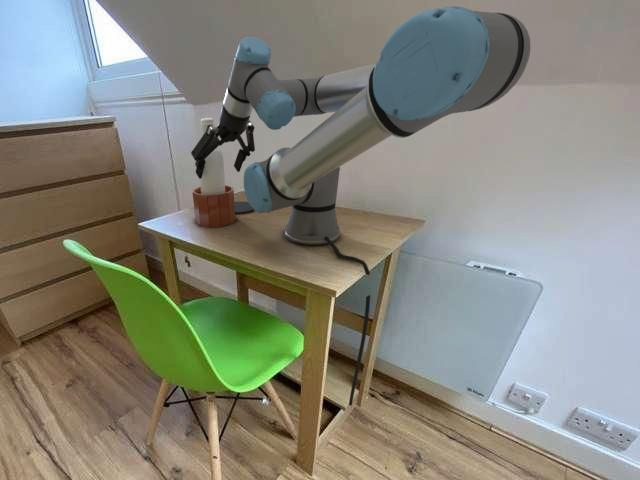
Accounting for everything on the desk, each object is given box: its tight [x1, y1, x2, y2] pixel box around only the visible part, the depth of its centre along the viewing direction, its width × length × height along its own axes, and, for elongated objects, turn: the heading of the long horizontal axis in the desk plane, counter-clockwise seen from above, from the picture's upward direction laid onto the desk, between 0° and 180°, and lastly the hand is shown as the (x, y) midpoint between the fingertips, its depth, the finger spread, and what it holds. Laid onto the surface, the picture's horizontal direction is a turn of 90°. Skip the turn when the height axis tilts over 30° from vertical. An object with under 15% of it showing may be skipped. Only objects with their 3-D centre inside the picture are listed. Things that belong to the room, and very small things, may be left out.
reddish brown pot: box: [191, 184, 236, 228], centre depth 111 cm, size 13×13×10 cm
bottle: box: [199, 117, 226, 195], centre depth 105 cm, size 8×8×30 cm
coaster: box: [234, 201, 255, 215], centre depth 123 cm, size 13×13×1 cm
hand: (218, 172), depth 105 cm, fingers open, 13 cm apart
